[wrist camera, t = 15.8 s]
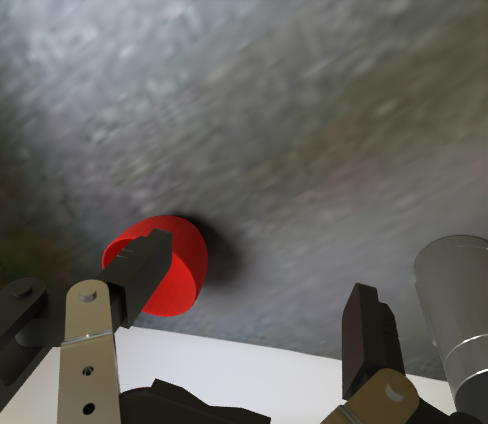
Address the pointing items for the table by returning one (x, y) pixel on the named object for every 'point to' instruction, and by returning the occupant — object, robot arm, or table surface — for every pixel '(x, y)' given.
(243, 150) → the table surface
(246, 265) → the table surface
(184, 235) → the ceramic cup
